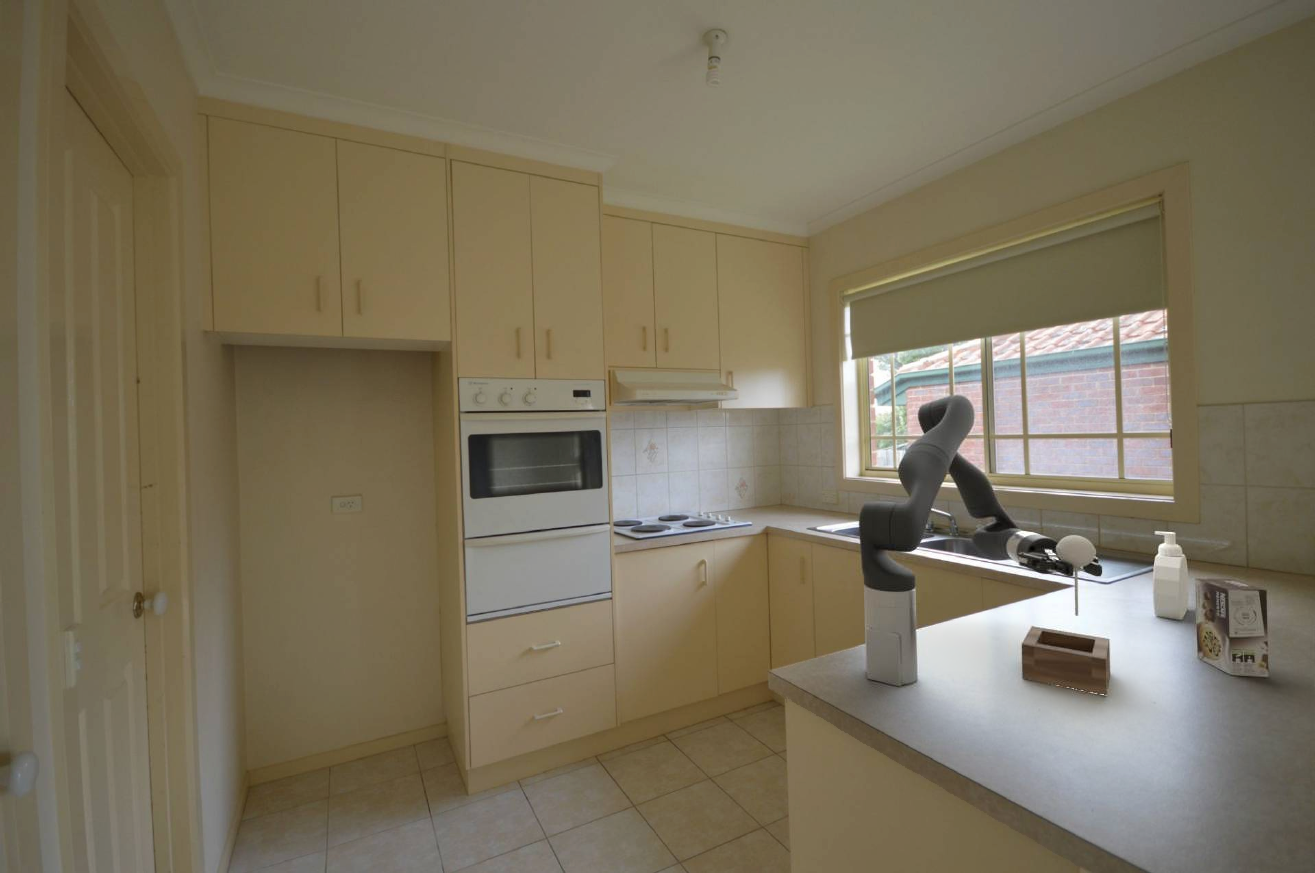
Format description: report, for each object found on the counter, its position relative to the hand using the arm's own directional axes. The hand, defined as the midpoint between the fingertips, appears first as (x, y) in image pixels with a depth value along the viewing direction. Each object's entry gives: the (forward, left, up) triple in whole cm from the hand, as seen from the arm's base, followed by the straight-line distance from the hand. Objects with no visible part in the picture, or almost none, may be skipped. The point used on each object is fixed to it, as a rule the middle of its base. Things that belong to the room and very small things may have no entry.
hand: (1085, 570), depth 106 cm
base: (+2, +3, -21) cm, 21 cm away
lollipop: (+2, +2, -9) cm, 10 cm away
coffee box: (+25, -21, -21) cm, 38 cm away
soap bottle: (+61, -13, -21) cm, 65 cm away
